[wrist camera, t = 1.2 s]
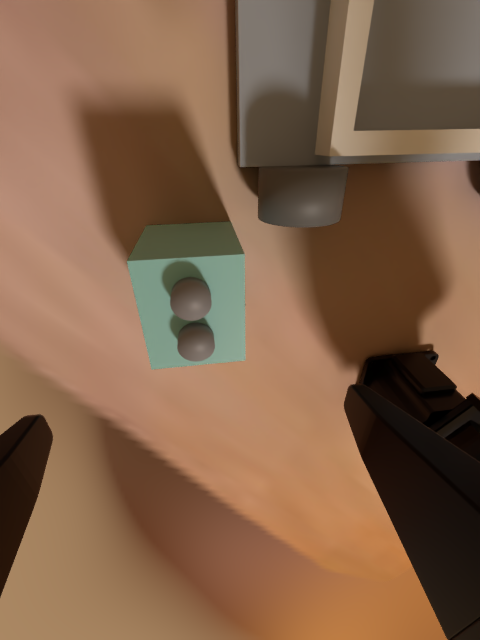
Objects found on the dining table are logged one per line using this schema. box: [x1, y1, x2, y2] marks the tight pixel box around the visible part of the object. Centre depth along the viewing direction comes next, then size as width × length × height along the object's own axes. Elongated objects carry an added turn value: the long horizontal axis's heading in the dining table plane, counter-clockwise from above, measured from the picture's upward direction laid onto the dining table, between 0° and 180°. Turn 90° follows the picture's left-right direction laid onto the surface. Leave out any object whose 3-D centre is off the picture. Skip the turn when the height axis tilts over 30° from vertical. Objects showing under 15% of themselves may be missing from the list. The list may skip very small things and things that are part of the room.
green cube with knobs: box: [127, 221, 245, 369], centre depth 16 cm, size 6×5×7 cm
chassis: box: [235, 0, 480, 227], centre depth 12 cm, size 17×20×4 cm
